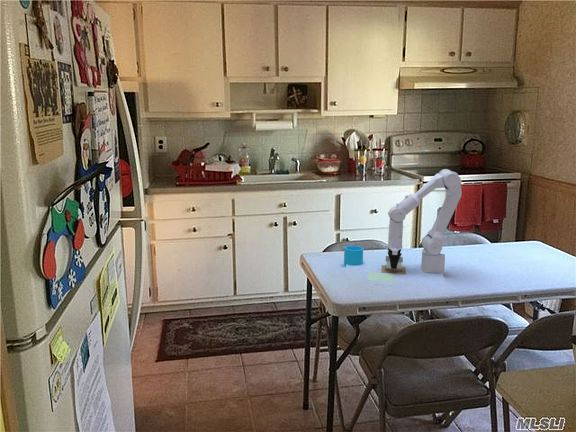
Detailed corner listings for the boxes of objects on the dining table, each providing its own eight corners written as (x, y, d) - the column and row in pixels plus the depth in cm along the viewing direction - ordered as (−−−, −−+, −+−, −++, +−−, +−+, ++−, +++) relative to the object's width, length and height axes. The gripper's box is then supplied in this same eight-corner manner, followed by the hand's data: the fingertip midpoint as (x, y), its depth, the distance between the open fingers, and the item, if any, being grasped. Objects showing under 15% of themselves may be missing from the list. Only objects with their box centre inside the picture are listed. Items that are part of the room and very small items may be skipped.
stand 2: (405, 270, 222) (405, 266, 221) (405, 277, 212) (405, 274, 212) (381, 268, 223) (381, 265, 223) (381, 275, 214) (381, 272, 213)
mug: (364, 268, 224) (365, 250, 222) (346, 269, 222) (347, 251, 220) (356, 260, 235) (357, 243, 233) (339, 261, 234) (339, 243, 232)
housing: (401, 268, 219) (402, 257, 217) (402, 271, 215) (402, 259, 214) (385, 267, 220) (385, 255, 219) (385, 270, 216) (385, 258, 215)
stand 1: (393, 277, 212) (393, 274, 212) (393, 285, 202) (393, 282, 202) (368, 275, 214) (368, 272, 213) (367, 283, 204) (367, 280, 204)
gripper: (385, 230, 222) (384, 261, 225) (385, 239, 208) (383, 271, 211) (402, 231, 221) (400, 262, 223) (403, 240, 207) (401, 272, 210)
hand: (393, 266), depth 217 cm, fingers closed on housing, 4 cm apart
